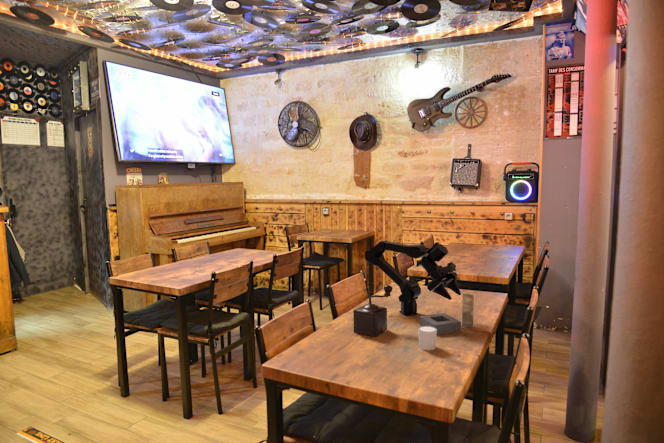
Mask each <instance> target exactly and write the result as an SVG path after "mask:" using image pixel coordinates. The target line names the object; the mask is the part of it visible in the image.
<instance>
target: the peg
mask: <svg viewBox="0 0 664 443" xmlns="http://www.w3.org/2000/svg"><path fill="white" fill-rule="evenodd" d="M474 297H475V296H474V294H472V293H463V294H462V309H461V310H462V314H461V315H462V318H461V328H464V329H473V328H474V304H475V303H474V302H475V298H474Z"/></svg>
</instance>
